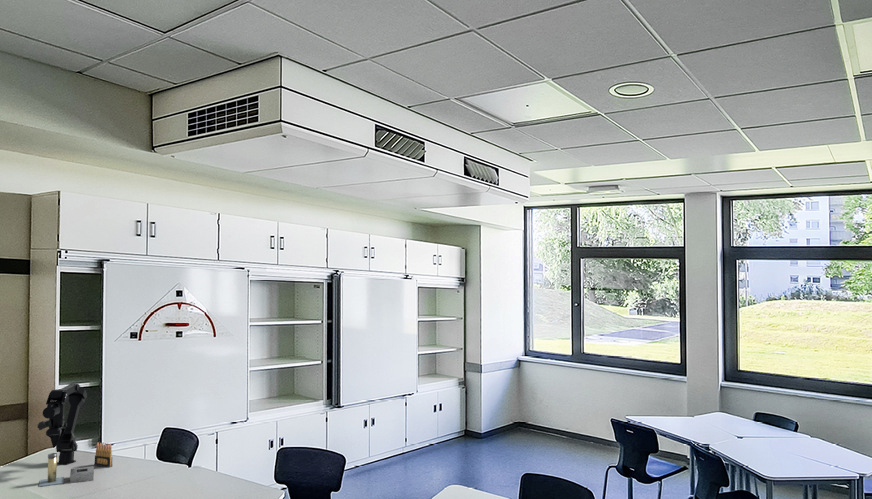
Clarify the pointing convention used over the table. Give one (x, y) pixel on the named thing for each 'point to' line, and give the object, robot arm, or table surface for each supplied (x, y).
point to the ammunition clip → (103, 455)
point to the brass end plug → (52, 467)
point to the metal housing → (81, 474)
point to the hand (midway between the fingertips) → (56, 444)
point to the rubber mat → (46, 483)
